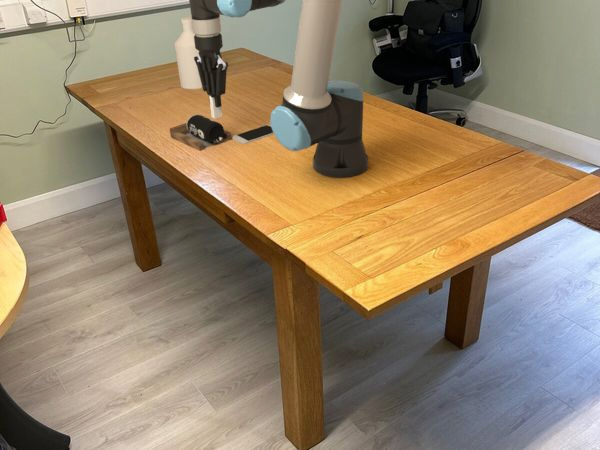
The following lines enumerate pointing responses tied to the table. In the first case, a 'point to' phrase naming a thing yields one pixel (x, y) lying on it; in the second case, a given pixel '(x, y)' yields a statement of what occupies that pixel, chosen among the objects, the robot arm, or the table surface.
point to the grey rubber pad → (202, 140)
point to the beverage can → (205, 129)
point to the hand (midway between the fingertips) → (216, 116)
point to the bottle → (187, 56)
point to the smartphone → (254, 134)
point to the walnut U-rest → (180, 135)
